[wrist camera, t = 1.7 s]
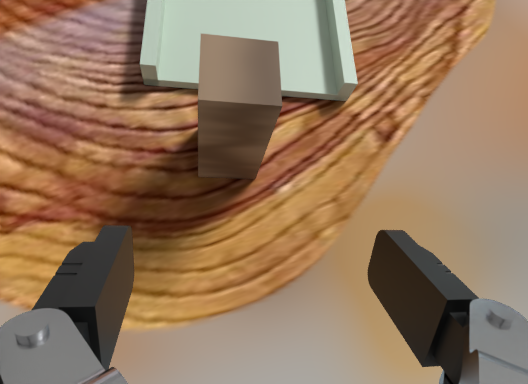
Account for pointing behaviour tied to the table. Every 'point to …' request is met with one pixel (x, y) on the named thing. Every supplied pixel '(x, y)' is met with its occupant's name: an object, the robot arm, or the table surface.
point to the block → (236, 104)
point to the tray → (253, 27)
